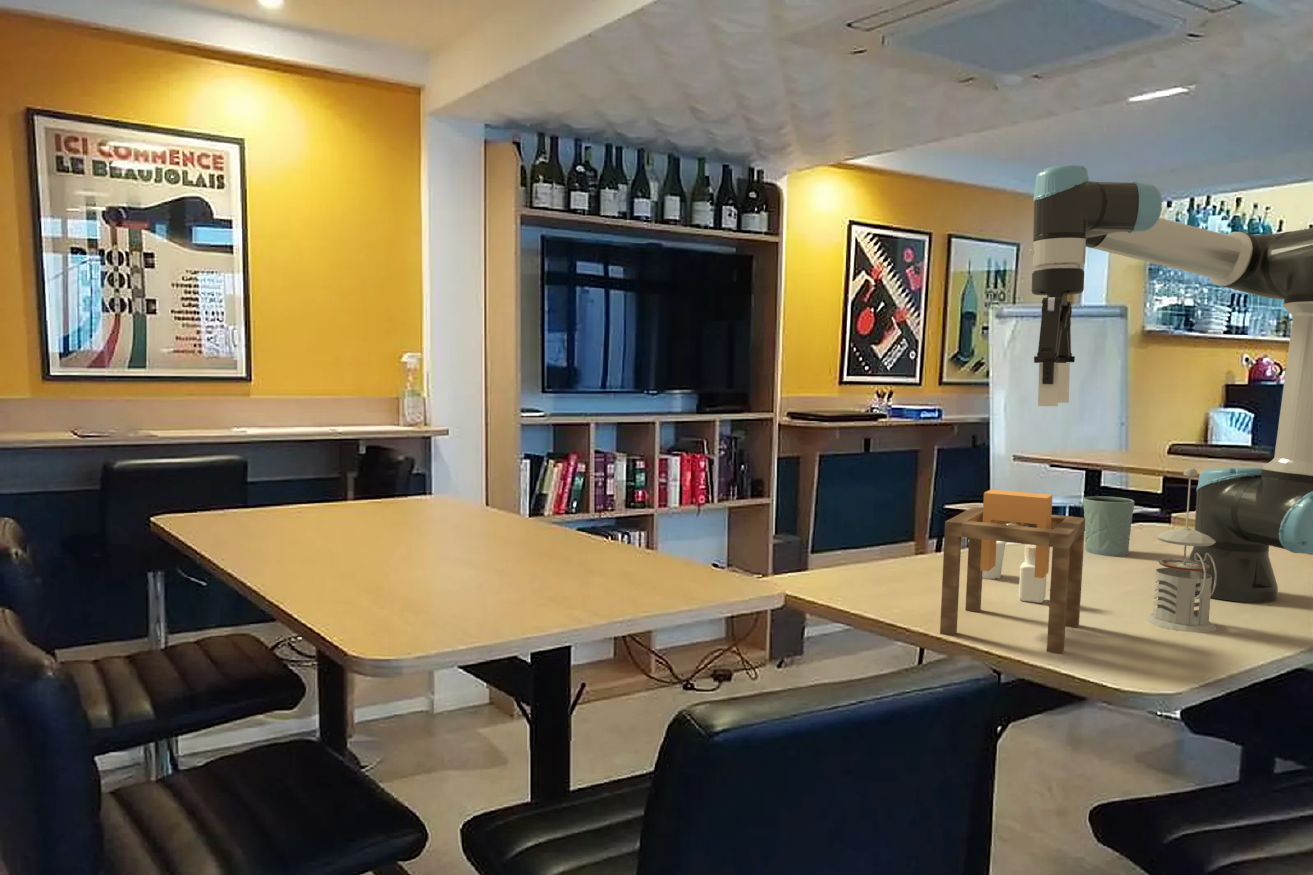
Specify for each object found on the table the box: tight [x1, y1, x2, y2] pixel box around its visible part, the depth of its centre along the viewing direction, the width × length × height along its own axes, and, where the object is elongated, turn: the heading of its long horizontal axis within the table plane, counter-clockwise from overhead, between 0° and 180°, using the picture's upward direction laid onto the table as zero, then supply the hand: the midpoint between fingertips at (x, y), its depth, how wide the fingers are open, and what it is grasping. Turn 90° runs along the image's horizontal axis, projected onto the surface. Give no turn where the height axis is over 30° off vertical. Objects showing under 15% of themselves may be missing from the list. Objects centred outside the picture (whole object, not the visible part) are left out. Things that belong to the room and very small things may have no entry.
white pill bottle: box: [1018, 544, 1048, 604], centre depth 159 cm, size 4×4×10 cm
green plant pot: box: [1082, 495, 1135, 557], centre depth 203 cm, size 10×10×12 cm
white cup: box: [968, 539, 1007, 580], centre depth 177 cm, size 7×7×7 cm
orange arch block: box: [980, 489, 1053, 578], centre depth 140 cm, size 9×5×12 cm, turn 58°
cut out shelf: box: [939, 506, 1085, 655], centre depth 140 cm, size 17×18×17 cm
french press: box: [1145, 467, 1217, 633], centre depth 144 cm, size 10×12×25 cm
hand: (1053, 404), depth 145 cm, fingers open, 13 cm apart
